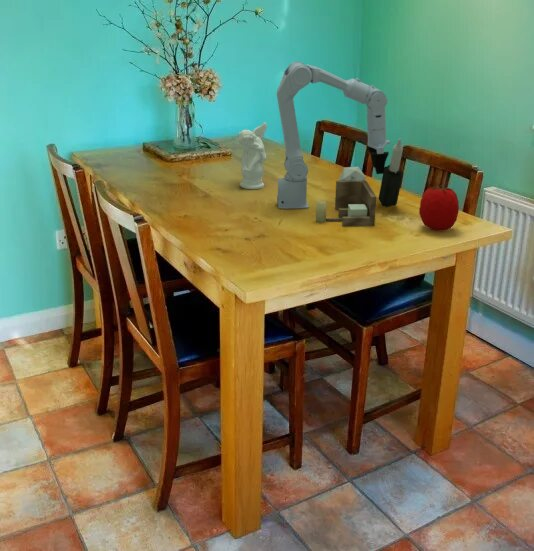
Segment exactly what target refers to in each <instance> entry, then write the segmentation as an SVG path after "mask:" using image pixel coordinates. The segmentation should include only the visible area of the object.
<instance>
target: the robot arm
mask: <svg viewBox="0 0 534 551" xmlns="http://www.w3.org/2000/svg"><path fill="white" fill-rule="evenodd" d="M317 83H322V84H325V85H327V86H331V87H333V88H335V89H338V90H341V91H342V92H343V95H344V97H346V98H348V99H350V100H352V101H355V102H357V103H360V104H362V105H366V124H367V126H366V128H367V144H366V145H367V146H366V148H367V150H368V152H369V154H370V159H371V164H372V167H373V168H374V169H375V174H376V175H383V171H384V167H386V161H387V159H388V156H389V151H384V149H385V147H386V146H387V145H389V144H391V141H390V140H388V139H387V124H386V123H387V122H386V121H387V120H386V118H387V116H386V106H387V104H388V100H389V99H388V98H387V95H386V94H385V92H383V91H382V90H380V89H379V88H377V87H375V86H374V85H373V84H370V85H369V84H367V83H364V82H362V80H361V79H360V78H358V77H356V78H349V79H347V80H345V79H344V78H341V77H339V76H337V75H335V74H334V73H331V72H329V71H327V70H324V69H322V68H320V67H318V66H314V65H311V64H307V63H306V64H304V63H303V62H301V61H294V62H291V63H290V64H288V67H286V69H285V70H284V71H283V75H282V76H281V81H280V82H279V86H278V88H277V90H276V99H277V105H278V110H279V117H280V122H281V130H282V136H283V142H284V147H285V148H284V149H285V153H284V154H285V160H284V163H283V164H284V170H285V171H286V173H285V175H284V177H282V178H277V195H276V202H277V206H278V209H279V210H280V209H281V210H282V209H284V210H285V209H287V210H288V209H289V210H290V209H309V207H310V206H309V204H308V201H307V195H308V194H307V193H308V190H307V189H308V187H307V186H308V173H309V168H308V165H307V164H306V163H305V160H304V156H303V152H302V148H301V141H300V136H299V128H298V121H297V116H296V109H295V102H294V98H295V96H297V94H298V93H299V91H301V90H302V89H304V88H306V86H308V85H309V84H313V85H314V84H317Z"/></svg>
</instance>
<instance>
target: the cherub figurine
mask: <svg viewBox="0 0 534 551" xmlns="http://www.w3.org/2000/svg"><path fill="white" fill-rule="evenodd" d="M267 124H268V123H266V121H264V122H263V123H262V125H259V126H256V127H255V128H254V129H253V131H252V130H250V129H243V130H241V131H238V142H239V144H240V145H241V149H242V152H241V156H240V157H241V158H240V161H241V168H240V171H241V176H242V178H241V182H239V186H240V187H241V188H243V189H246V190H258V189H260V190H261V189H263V188H264V186H265V183H264V182H263V178H262V177H263V175H264V166H263V164H264V163H265V162H266V160H267V154H266V150H265V145H264V142H263V140H262V138H263V137H264V135H265V133H266V131H267V128H268V125H267Z"/></svg>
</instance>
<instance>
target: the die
mask: <svg viewBox="0 0 534 551" xmlns="http://www.w3.org/2000/svg"><path fill="white" fill-rule="evenodd" d="M366 178H367V177H366V176H365V174H364V172H363V171H362V170H361V169H360V167H359V166H348V167H343V170H342V172H341V174H340V176H339V178H338V180H337V181H366Z"/></svg>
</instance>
